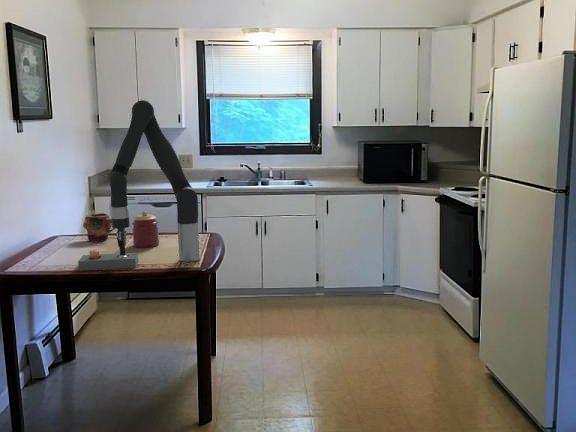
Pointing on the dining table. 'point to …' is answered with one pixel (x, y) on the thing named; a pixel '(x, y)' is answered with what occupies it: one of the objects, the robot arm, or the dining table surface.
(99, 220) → the brown ceramic mug
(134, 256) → the button panel
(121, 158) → the robot arm
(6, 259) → the dining table surface
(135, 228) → the canister
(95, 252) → the terracotta button
